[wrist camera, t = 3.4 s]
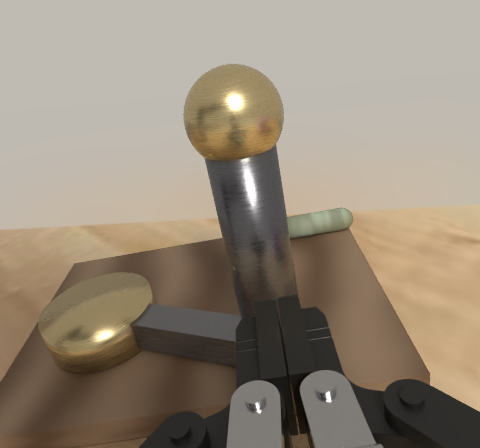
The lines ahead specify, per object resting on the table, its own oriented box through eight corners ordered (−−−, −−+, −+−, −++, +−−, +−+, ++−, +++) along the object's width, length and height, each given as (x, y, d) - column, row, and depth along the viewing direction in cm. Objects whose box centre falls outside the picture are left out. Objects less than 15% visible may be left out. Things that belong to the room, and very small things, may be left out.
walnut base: (-25, 461, 23) (-54, 419, 22) (80, 277, 39) (67, 246, 38) (437, 394, 22) (438, 343, 20) (348, 231, 38) (345, 197, 36)
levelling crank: (28, 362, 27) (-98, 120, 20) (101, 295, 33) (20, 88, 26) (296, 427, 20) (233, 77, 13) (332, 325, 25) (300, 44, 18)
